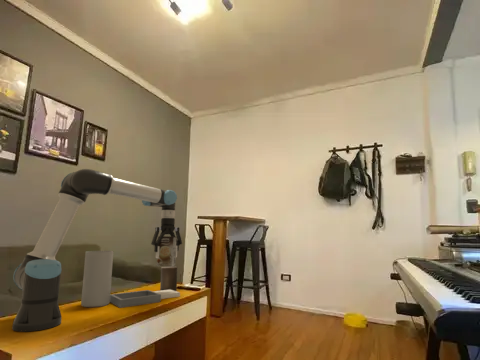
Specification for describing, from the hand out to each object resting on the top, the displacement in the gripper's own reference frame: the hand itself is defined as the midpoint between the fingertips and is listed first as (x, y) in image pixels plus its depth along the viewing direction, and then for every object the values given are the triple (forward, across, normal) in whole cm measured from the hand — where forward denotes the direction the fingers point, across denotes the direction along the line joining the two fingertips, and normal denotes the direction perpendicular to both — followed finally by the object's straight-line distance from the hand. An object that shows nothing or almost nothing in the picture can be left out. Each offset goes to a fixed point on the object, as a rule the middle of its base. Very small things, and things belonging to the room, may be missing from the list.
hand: (166, 257), depth 171 cm
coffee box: (+5, 0, 0) cm, 5 cm away
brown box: (+21, +9, +14) cm, 26 cm away
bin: (+20, -18, -4) cm, 27 cm away
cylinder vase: (+21, -35, +2) cm, 41 cm away
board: (+20, 0, 0) cm, 20 cm away
